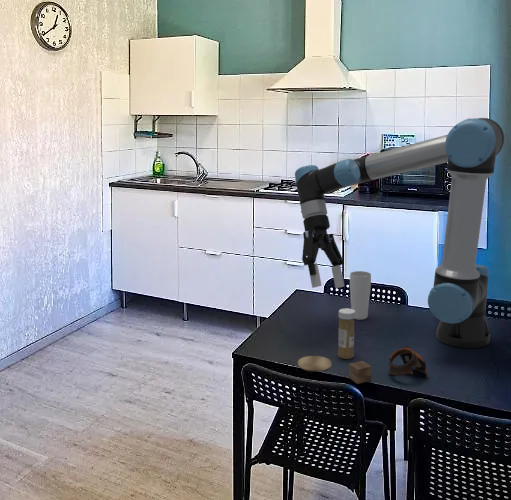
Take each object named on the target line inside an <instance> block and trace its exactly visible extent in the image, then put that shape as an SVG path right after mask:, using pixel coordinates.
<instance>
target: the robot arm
mask: <svg viewBox="0 0 511 500" xmlns="http://www.w3.org/2000/svg"><path fill="white" fill-rule="evenodd" d="M504 145H505V133H504V130H503V128H502V127H501V126H500V124H499V123H498V122H497V121H495V120H493V119H491V118H487V117H477V118H476V117H475V118H466V119H464V120H461V121H460V122H458V123H456V124H455V125H454V126H453V127H452V128H451V129H450V130H449V132H448V133H447V134H445V135H441V136H437V137H433V138H430V139H426V140H423V141H419V142H414V143H411V144H407V145H404V146H400V147H396V148H393V149H388V150H385V151H381V152H376V153H374V154H370V155H368V156H367V155H366V156H363V157H359V158H354V159H352V158H345V159H342V160H340V161H337V162H335V163H333V164H329V165H328V166H326V167H322V168H319V167H318V166H317V165H313V164H308V165H303V166H301V167H299V168H297V169H296V170H295V172H294V178H295V187H296V191H297V195H298V199H299V205H300V210H301V211H300V213H301V215H302V219H303V223H302V224H303V227H304V231H303V233H302V235H303V247H302V257H301V260H302V263H303V264H304V266H307V268H308V271H309V278H310V282H311V283H310V284H311V288H317V287H321V286H322V280H321V275H320V270H319V265H318V263H317V262H316V260H317V257H318V254H319V249H320V250H321V251H323V252H324V254H325V256H326V257H327V259H328V260H329V262H330V264H331V265H332V266H330V267H331V272H332V278H333V282H334V286H335V287H334V288H335V289H340V288H343V287H345V282H344V276H343V273H342V267H341V266H342V265H344V262H345V261H344V259H343V257H342V254H341V252H340V249H339V248H338V246H337V243H336V241H335V236H334V233H329V234H328V232H327V230H328V229H329V228H330V227H331V224H330V219H329V216H328V215H327V214H328V210H327V209H328V208H327V205H326V200H325V195H327V194H330V193H331V192H334V191H338V190H341V189H344V188H348V187H351V186H355V185H359V184H363V183H366V182H370V181H373V180H377V179H378V180H379V179H383V178H387V177H391V176H396V175H398V174H403V173H408V172H411V171H416V170H421V169H423V168H424V169H425V168H428V167H433V166H437V165H441V164H445V163H447V165H446V166H447V167H446V171H447V172H448V174H449V175H450V176H451V182H450V190H449V191H450V192H449V200H448V209H447V210H448V211H447V216H446V225H445V226H446V227H445V235H444V243H443V251H442V252H443V253H442V260H441V264H440V265H438V267H435V270H434V271H435V272H434V279H433V286H432V288H431V289H430V291H429V293H428V296H427V305H428V309H429V310H430V313H432V315H433V316H434V317H435V318H437V319H438V320H440V321H439V323H438V324H437V325H438V326H437V328H436V332H435V334H436V336H435V337H436V339H437V340H438V341H439V342H440V343H442V344H445V345H447V346H452V347H456V348H463V349H477V348H483V347H486V346H488V345H489V344H490V341H491V339H490V338H491V334H490V330H489V326H488V322H487V318H486V309H487V300H488V299H487V296H488V286H489V279H490V275H489V268H488V267H487V266H485V265H481V264H478V263H476V262H477V254H478V248H479V247H478V246H479V239H480V231H481V224H482V217H483V216H482V215H483V207H484V201H485V196H486V195H485V193H486V186H487V180H488V179H489V178H491V177H492V175H493V174H494V173H495V165H496V157H497V155H499V153H500V152H501V151H502V149H503V147H504Z"/></svg>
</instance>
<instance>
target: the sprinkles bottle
mask: <svg viewBox="0 0 511 500" xmlns="http://www.w3.org/2000/svg"><path fill="white" fill-rule="evenodd" d="M355 320H356V319H355V310H353V309H351V308H347V307H346V308H340V309H339V310H338V337H337V338H338V339H337V340H338V345H337V346H338V352H337V356H338V357H339V358H341V359H343V360H344V359H345V360H347V359H348V360H349V359H352V358H354V357H355V353H354V352H355V351H354V350H355V349H354V348H355Z"/></svg>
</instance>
